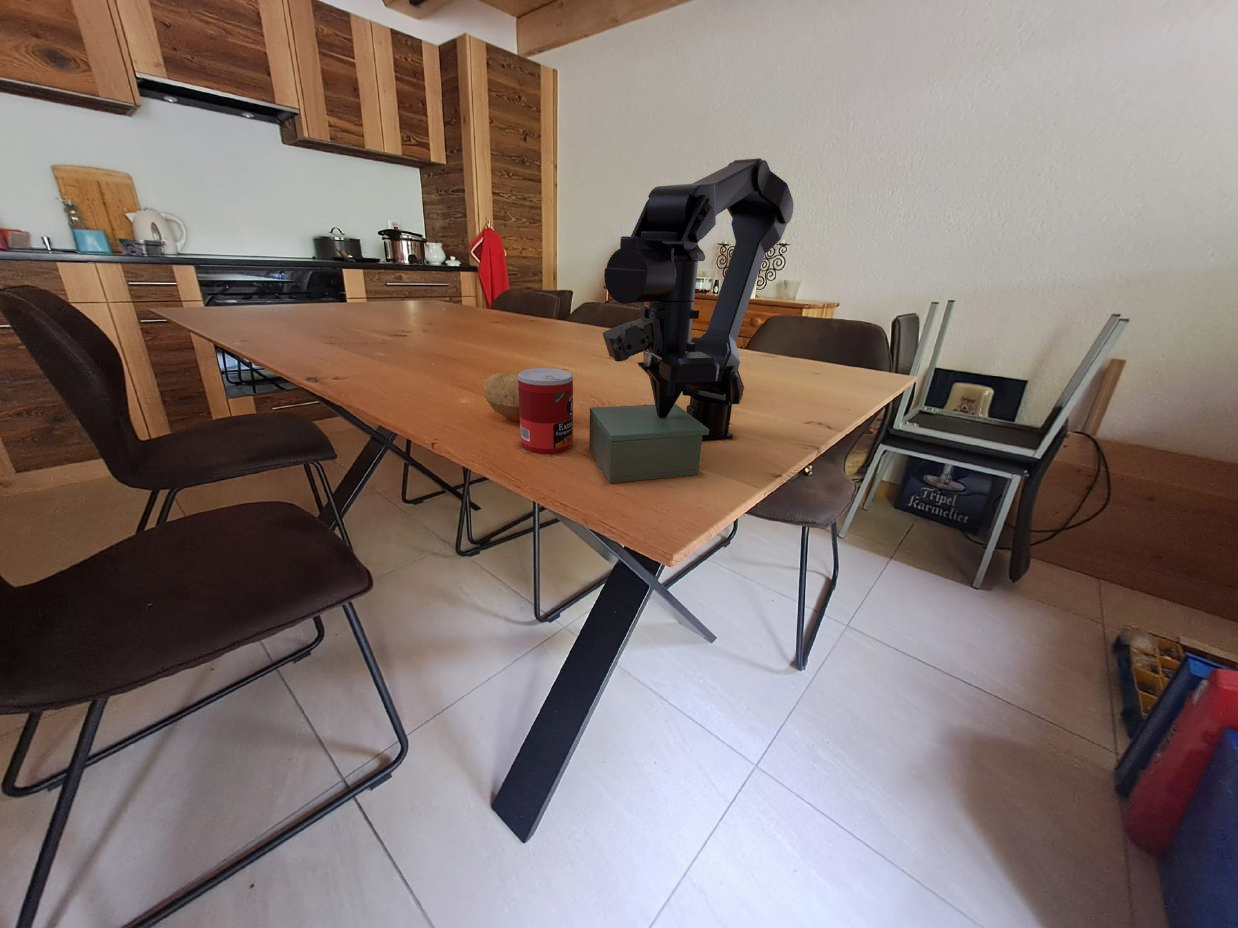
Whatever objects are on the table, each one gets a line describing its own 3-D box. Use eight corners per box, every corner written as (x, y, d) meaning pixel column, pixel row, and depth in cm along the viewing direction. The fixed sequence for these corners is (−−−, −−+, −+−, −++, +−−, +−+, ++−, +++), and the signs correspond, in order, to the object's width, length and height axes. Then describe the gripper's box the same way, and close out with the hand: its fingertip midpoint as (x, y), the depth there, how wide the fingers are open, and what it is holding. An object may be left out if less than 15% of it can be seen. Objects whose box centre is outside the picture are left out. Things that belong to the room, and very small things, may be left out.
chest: (666, 443, 75) (669, 408, 72) (697, 474, 65) (702, 435, 62) (589, 449, 71) (589, 413, 69) (609, 483, 61) (611, 442, 59)
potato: (555, 433, 77) (554, 385, 73) (475, 424, 79) (471, 377, 76) (573, 415, 85) (573, 372, 82) (500, 407, 88) (498, 365, 85)
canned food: (564, 457, 68) (563, 382, 64) (512, 450, 70) (508, 377, 65) (579, 438, 75) (579, 370, 71) (531, 433, 76) (529, 366, 72)
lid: (674, 408, 73) (675, 403, 72) (708, 435, 62) (709, 429, 62) (589, 412, 69) (589, 407, 68) (611, 441, 59) (611, 435, 58)
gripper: (592, 292, 65) (590, 400, 72) (634, 307, 49) (627, 446, 56) (666, 293, 68) (658, 397, 75) (729, 308, 52) (712, 439, 59)
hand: (661, 417), depth 66 cm, fingers closed, pressing on lid
